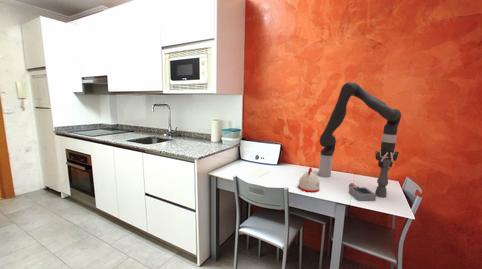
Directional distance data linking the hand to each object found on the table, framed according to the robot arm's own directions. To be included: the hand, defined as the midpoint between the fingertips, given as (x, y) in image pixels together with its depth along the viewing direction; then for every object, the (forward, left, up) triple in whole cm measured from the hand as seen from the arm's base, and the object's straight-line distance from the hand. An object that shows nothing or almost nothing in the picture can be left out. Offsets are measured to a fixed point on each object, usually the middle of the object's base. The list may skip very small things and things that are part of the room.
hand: (384, 166), depth 142 cm
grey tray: (-1, -14, -20) cm, 24 cm away
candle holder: (0, 0, -20) cm, 20 cm away
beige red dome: (-11, -44, -20) cm, 49 cm away
